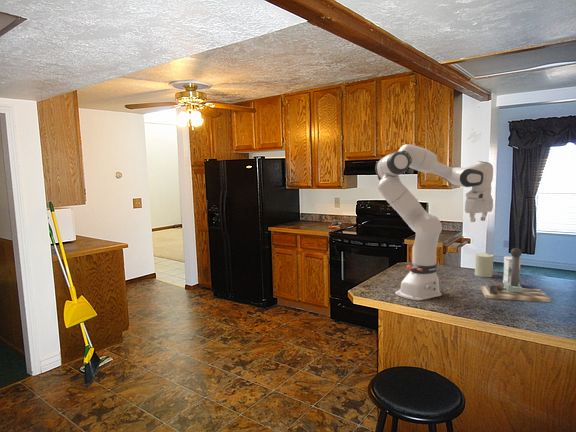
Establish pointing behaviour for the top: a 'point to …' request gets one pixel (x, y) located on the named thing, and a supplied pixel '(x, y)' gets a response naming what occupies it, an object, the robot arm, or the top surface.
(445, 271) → the top surface
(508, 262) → the syrup box
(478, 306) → the top surface
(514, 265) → the press handle
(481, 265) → the can
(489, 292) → the press frame
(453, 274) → the top surface
